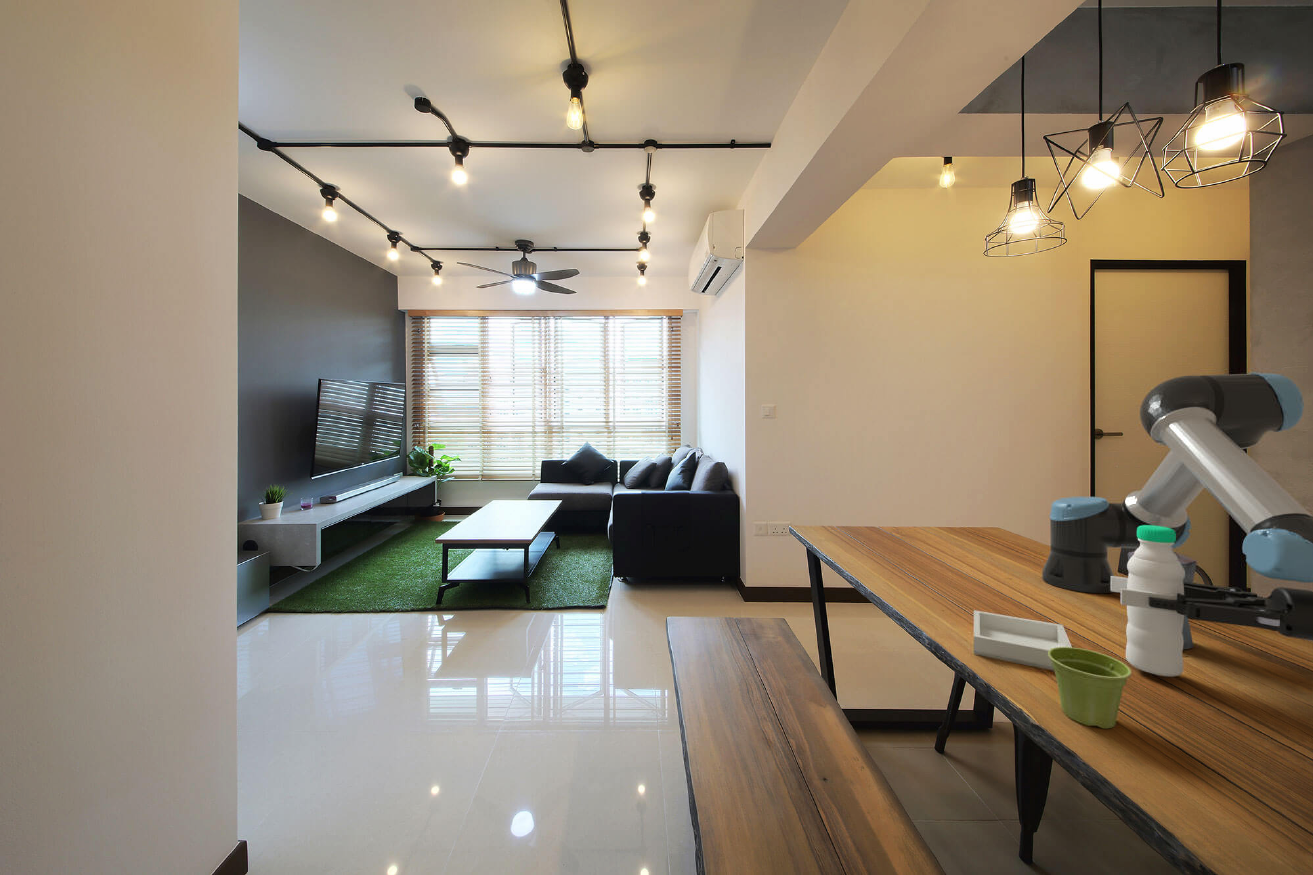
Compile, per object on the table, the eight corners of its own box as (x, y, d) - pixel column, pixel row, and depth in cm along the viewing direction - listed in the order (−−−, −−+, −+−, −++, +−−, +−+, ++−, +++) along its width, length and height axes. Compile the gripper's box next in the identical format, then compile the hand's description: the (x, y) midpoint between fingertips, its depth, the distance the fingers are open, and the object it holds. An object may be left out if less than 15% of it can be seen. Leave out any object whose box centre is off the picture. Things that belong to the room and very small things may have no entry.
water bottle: (1195, 680, 81) (1198, 532, 80) (1145, 676, 82) (1148, 531, 81) (1160, 659, 88) (1163, 523, 87) (1115, 656, 89) (1117, 522, 88)
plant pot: (1109, 744, 67) (1110, 683, 67) (1034, 708, 76) (1034, 653, 76) (1144, 726, 71) (1145, 668, 71) (1068, 693, 80) (1069, 642, 79)
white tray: (973, 625, 106) (973, 610, 106) (1062, 642, 98) (1062, 624, 98) (973, 653, 93) (973, 636, 93) (1075, 675, 85) (1075, 655, 85)
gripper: (1359, 667, 67) (1130, 630, 79) (1283, 617, 83) (1103, 593, 96) (1361, 614, 66) (1130, 585, 79) (1284, 574, 83) (1104, 555, 96)
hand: (1116, 589), depth 87 cm, fingers closed on water bottle, 7 cm apart
